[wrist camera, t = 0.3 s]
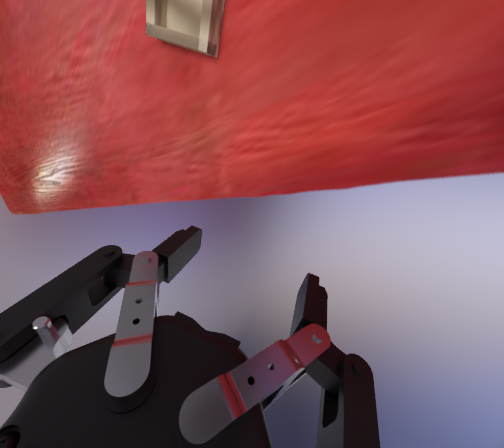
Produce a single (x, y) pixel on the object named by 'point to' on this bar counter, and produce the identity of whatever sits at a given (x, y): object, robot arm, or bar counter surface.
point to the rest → (186, 23)
